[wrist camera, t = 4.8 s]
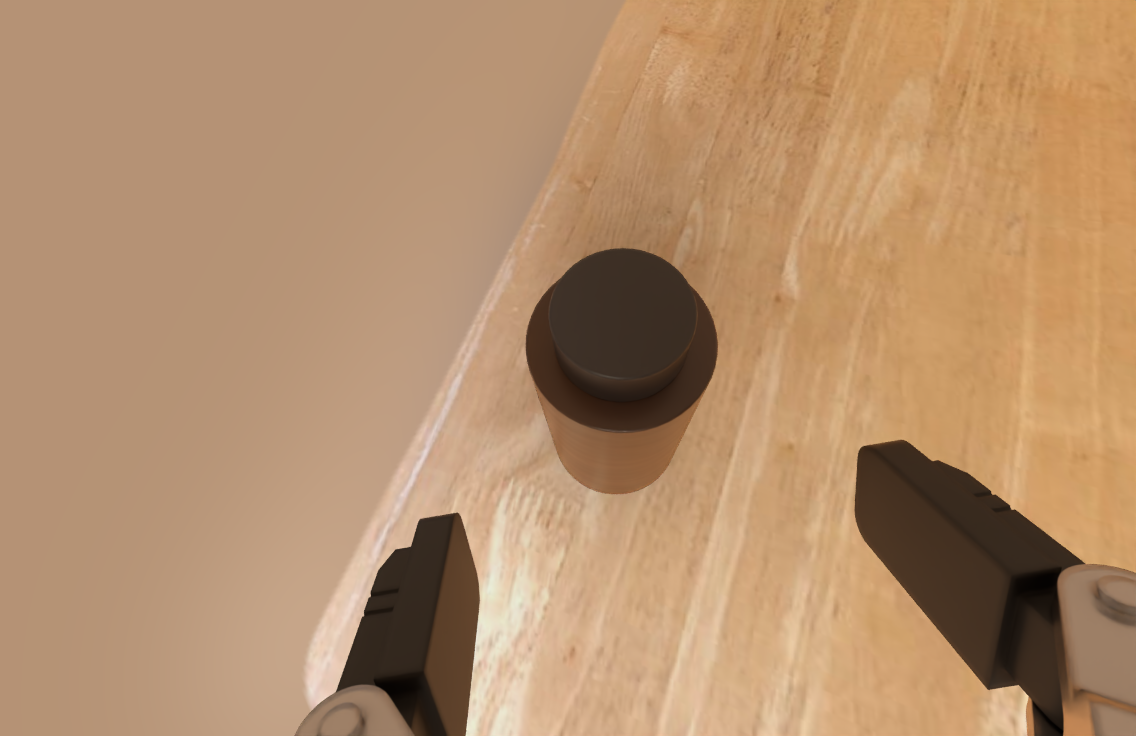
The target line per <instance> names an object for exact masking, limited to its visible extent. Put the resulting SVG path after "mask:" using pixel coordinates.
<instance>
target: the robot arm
mask: <svg viewBox="0 0 1136 736" xmlns="http://www.w3.org/2000/svg"><path fill="white" fill-rule="evenodd" d="M855 518H856V522H857V526H858V528H859V531H860V533H861V535H862V537H863V539H864V540H865V542H866V543H867V544H868V545H869V547H870V548H871V549H872V550H873V552H874V553H875V554H876V555H877V556H878V558H879V559H880V560H881V561H882V562H883V564H884V565H885V566H886V567H887V568H888V570H889V571H890V572H891V573H892V574H893V576H894V577H895V578H896V579H897V580H898V582H899V583H900V584H901V585H902V587H903V588H904V589H905V590H906V591H907V593H908V594H909V595H910V596H911V597H912V599H913V600H914V601H915V602H916V603H917V605H918V606H919V607H920V608H921V609H922V611H923V612H924V613H925V614H926V615H927V617H928V618H929V619H930V620H931V622H932V623H933V624H934V625H935V626H936V628H937V629H938V630H939V631H940V632H941V634H942V635H943V636H944V637H945V638H946V640H947V641H948V642H949V643H950V644H951V646H952V647H953V648H954V649H955V650H956V652H957V653H958V654H959V655H960V657H961V658H962V659H963V660H964V661H965V663H966V664H967V665H968V666H969V667H970V669H971V670H972V671H973V672H974V673H975V675H976V676H977V677H978V678H979V679H980V681H981V682H982V683H983V684H984V685H985V687H986V688H987V689H988V690H990V689H996V688H1002V687H1008V686H1014V685H1019V686H1020V687H1021V688H1022V689H1023V690H1024V691H1025V693H1026V694H1027V695H1028V696H1029V699H1028V703H1027V707H1026V720H1027V735H1028V736H1136V573H1134V572H1131V571H1128V570H1125V569H1121V568H1117V567H1112V566H1107V565H1098V564H1085V563H1084V562H1083V561H1081V560H1080V559H1079V558H1077V557H1076V556H1075V555H1074V554H1072V553H1071V552H1070V551H1068V550H1067V549H1066V548H1064V547H1063V546H1062V545H1061V544H1059V543H1058V542H1057V541H1055V540H1054V539H1053V538H1051V537H1050V536H1049V535H1048V534H1046V533H1045V532H1044V531H1042V530H1041V529H1040V528H1038V527H1037V526H1036V525H1035V524H1033V523H1032V522H1031V521H1029V520H1028V519H1027V518H1025V517H1024V516H1023V515H1021V514H1020V513H1019V512H1018V511H1016V510H1011V508H1010V505H1008V504H1007V503H1006V502H1005V501H1003V500H1002V499H1001V498H999V497H998V496H997V495H992V494H991V491H990V490H989V489H988V488H986V487H985V486H984V485H982V484H981V483H980V482H979V481H977V480H976V479H975V478H973V477H972V476H971V475H969V474H968V473H966V472H964V471H961V470H959V469H957V468H954V467H952V466H950V465H948V464H945V463H943V462H941V461H939V460H937V461H931V460H930V459H928V458H927V457H926V456H925V455H924V454H922V453H921V452H920V451H919V450H917V449H916V448H915V447H914V446H912V445H911V444H910V443H908V442H907V441H905V440H897V441H891V442H885V443H879V444H873V445H867V446H863V447H861V449H860V450H859V453H858V459H857V477H856V494H855ZM479 602H480V596H479V583H478V577H477V572H476V568H475V565H474V561H473V557H472V554H471V550H470V547H469V543H468V539H467V536H466V532H465V529H464V525H463V522H462V519H461V516H460V515H459V513H453V514H447V515H441V516H435V517H429V518H423V519H420V520H419V522H418V525H417V528H416V532H415V535H414V539H413V542H412V546H411V547H408V548H402V549H396V550H395V551H394V552H393V553H392V554H391V556H390V557H389V558H388V559H387V561H386V562H385V563H384V564H383V565H382V567H381V568H380V569H379V570H378V573H377V576H376V579H375V581H374V584H373V587H372V590H371V597H369V599H368V602H367V604H366V607H365V610H364V617H362V619H361V622H360V625H359V627H358V630H357V633H356V636H355V639H354V642H353V645H352V648H351V650H350V653H349V656H348V659H347V662H346V665H345V668H344V671H343V673H342V676H341V679H340V682H339V685H338V688H337V690H336V693H334V694H332V695H331V696H329V697H328V698H326V699H325V700H323V701H322V702H321V703H320V704H318V705H317V706H316V707H315V708H314V709H313V710H312V711H311V712H310V713H309V714H308V716H307V717H306V718H305V719H304V721H303V722H302V723H301V725H300V726H299V728H298V730H297V732H296V734H295V736H465V735H466V726H467V717H468V707H469V698H470V688H471V679H472V670H473V660H474V651H475V641H476V632H477V623H478V613H479Z"/></svg>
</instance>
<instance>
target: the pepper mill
mask: <svg viewBox="0 0 1136 736" xmlns="http://www.w3.org/2000/svg"><path fill="white" fill-rule="evenodd" d="M717 352H718V341H717V332H716V329H715V325H714V321H713V319H712V316H711V314H710V311H709V309H708V308H707V306H706V304H705V303H704V301H703V300H702V298H701V297H700V296H699V294H698V293H697V292H696V291H695V290H694V289H693V288H692V287H691V286H690V285H689V284H688V282H687V281H686V279H685V278H684V277H683V275H682V274H681V273H680V272H679V271H678V270H677V269H676V268H675V267H674V266H672V265H671V264H670V263H669V262H667V261H665V260H664V259H662V258H660V257H658V256H656V255H654V254H651V253H648V252H645V251H641V250H636V249H626V248H621V249H610V250H604V251H601V252H597V253H594V254H592V255H589V256H587V257H586V258H584V259H582V260H580V261H579V262H577V263H576V264H574V265H573V266H572V267H571V268H570V269H569V270H568V271H567V272H566V273H565V274H564V275H563V276H562V278H561V279H559V280H558V281H557V282H556V283H555V284H553V285H552V286H551V287H550V288H549V289H548V291H547V292H546V293H545V294H544V295H543V296H542V298H541V299H540V301H539V302H538V304H537V305H536V307H535V309H534V312H533V314H532V316H531V319H530V322H529V325H528V329H527V335H526V356H527V362H528V366H529V370H530V373H531V376H532V379H533V382H534V385H535V388H536V391H537V394H538V397H539V400H540V403H541V406H542V409H543V412H544V415H545V417H546V420H547V423H548V426H549V429H550V432H551V435H552V438H553V441H554V444H555V447H556V450H557V453H558V455H559V458H560V460H561V462H562V464H563V465H564V467H565V468H566V470H567V471H568V472H569V473H570V474H571V475H572V476H573V477H574V478H575V479H576V480H577V481H578V482H580V483H581V484H583V485H584V486H586V487H588V488H590V489H593V490H595V491H598V492H602V493H607V494H625V493H631V492H634V491H638V490H640V489H642V488H644V487H646V486H648V485H650V484H651V483H653V482H654V481H655V480H656V479H657V478H659V476H660V475H661V474H662V473H663V472H664V471H665V469H666V468H667V466H668V465H669V463H670V461H671V459H672V457H673V455H674V453H675V451H676V449H677V447H678V445H679V443H680V441H681V439H682V437H683V435H684V433H685V431H686V429H687V427H688V425H689V423H690V421H691V419H692V416H693V414H694V412H695V410H696V408H697V406H698V404H699V402H700V400H701V398H702V396H703V394H704V392H705V390H706V388H707V386H708V384H709V382H710V380H711V378H712V375H713V372H714V369H715V366H716V360H717Z"/></svg>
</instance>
